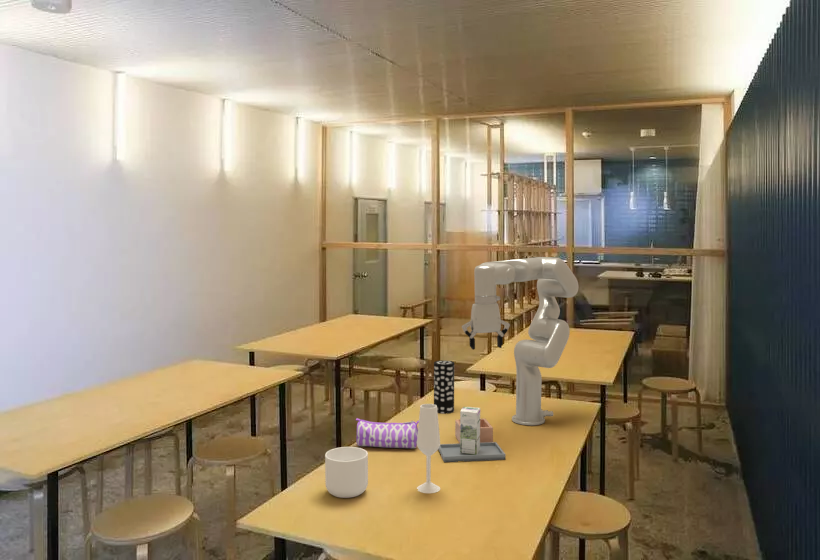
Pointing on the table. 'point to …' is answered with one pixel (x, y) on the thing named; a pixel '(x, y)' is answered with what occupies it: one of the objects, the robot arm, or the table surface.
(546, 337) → the robot arm
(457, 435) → the holder
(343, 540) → the table surface
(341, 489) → the handleless ceramic cup
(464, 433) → the syrup box
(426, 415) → the champagne flute
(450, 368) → the spotted tube
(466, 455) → the tray
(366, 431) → the pencil case
